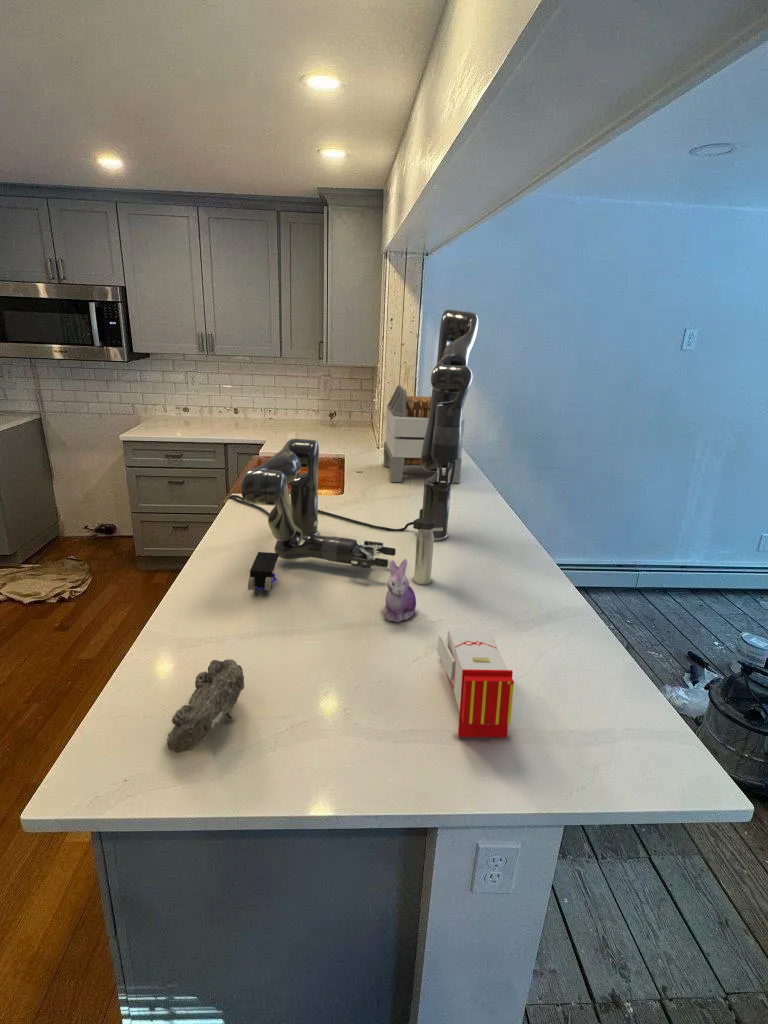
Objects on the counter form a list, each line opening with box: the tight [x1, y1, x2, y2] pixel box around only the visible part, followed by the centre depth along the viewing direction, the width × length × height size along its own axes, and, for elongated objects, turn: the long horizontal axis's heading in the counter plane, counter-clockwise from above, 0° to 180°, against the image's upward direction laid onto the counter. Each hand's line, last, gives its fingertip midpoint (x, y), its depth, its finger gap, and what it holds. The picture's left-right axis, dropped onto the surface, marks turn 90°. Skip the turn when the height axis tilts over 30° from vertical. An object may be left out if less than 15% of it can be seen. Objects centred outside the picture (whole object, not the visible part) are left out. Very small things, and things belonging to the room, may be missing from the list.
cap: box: [418, 518, 434, 530], centre depth 160 cm, size 4×4×2 cm
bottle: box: [413, 529, 435, 585], centre depth 163 cm, size 5×5×18 cm
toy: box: [437, 628, 515, 738], centre depth 117 cm, size 12×13×30 cm
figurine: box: [384, 558, 417, 623], centre depth 145 cm, size 9×10×15 cm
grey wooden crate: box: [383, 384, 465, 484], centre depth 268 cm, size 34×33×41 cm
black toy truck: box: [247, 551, 280, 596], centre depth 158 cm, size 7×8×15 cm
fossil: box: [166, 658, 245, 754], centre depth 106 cm, size 22×10×15 cm
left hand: (391, 557), depth 166 cm, fingers open, 8 cm apart
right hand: (442, 498), depth 158 cm, fingers open, 8 cm apart
